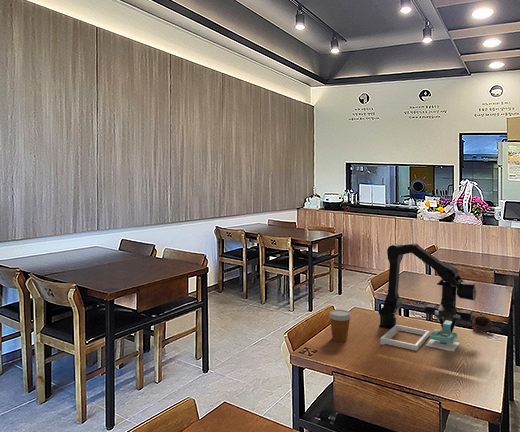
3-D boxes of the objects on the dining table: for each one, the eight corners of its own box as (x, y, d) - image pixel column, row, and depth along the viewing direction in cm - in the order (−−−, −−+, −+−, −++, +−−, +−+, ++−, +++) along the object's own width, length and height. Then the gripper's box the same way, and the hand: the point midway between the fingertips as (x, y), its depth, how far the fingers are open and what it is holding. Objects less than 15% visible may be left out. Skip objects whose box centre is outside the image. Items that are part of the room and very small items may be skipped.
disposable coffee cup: (327, 342, 189) (328, 315, 188) (329, 334, 198) (329, 308, 197) (350, 344, 187) (350, 316, 185) (351, 336, 196) (351, 310, 195)
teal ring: (429, 338, 183) (429, 328, 182) (438, 328, 195) (438, 318, 194) (452, 343, 178) (453, 332, 177) (459, 332, 190) (460, 322, 189)
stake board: (425, 347, 182) (425, 336, 182) (432, 339, 191) (432, 328, 191) (453, 353, 176) (454, 341, 175) (459, 345, 185) (459, 333, 184)
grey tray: (380, 344, 186) (380, 337, 185) (395, 330, 202) (396, 324, 202) (416, 352, 177) (416, 345, 177) (429, 337, 193) (429, 331, 193)
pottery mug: (497, 333, 200) (497, 320, 195) (483, 344, 197) (483, 332, 193) (474, 319, 209) (474, 307, 205) (461, 330, 207) (460, 318, 202)
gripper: (421, 297, 187) (420, 332, 189) (468, 304, 176) (467, 341, 178) (428, 291, 196) (427, 324, 198) (473, 298, 185) (472, 333, 187)
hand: (447, 331), depth 190 cm, fingers closed on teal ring, 3 cm apart
